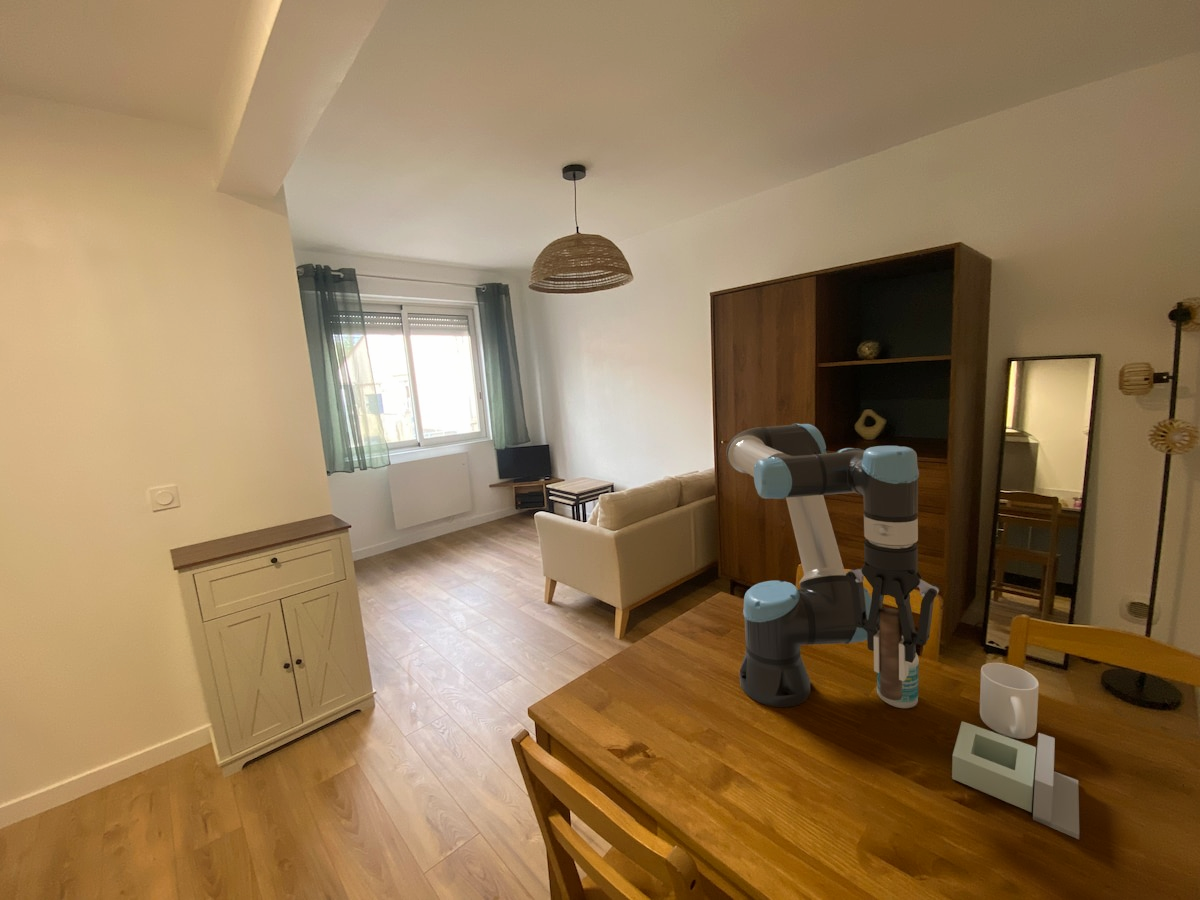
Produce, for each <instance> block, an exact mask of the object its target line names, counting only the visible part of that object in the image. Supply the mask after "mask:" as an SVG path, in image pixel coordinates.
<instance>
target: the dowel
mask: <svg viewBox="0 0 1200 900" xmlns="http://www.w3.org/2000/svg"><path fill="white" fill-rule="evenodd" d="M879 621H880V622H879V625H880V626H879V630H880V693H881V695H882V696H884V697H885V698H887V699H890V700H900V699H901V698H902V681H901V680H899V642H900V641H901V640H902V636H903V633H902V628H901V622H900V617H899V612H898V609H896V608H892V607H891V608H890V607H882V609H880V610H879Z"/></svg>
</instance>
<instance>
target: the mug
mask: <svg viewBox="0 0 1200 900" xmlns="http://www.w3.org/2000/svg"><path fill="white" fill-rule="evenodd" d="M1039 683H1040V682H1039V681H1038V679H1037V678H1036V676H1034V675H1033V674H1032V673H1030V672H1029V671H1027V670H1025V669H1023V668H1020V667H1019V666H1015V665H1011V664H1007V663H1003V662H988V663H985V664H983V665H982V666H981V667H980V689H979V691H980V692H979V694H980V695H979V714H980V715H979V716H980V719H981V720H982V722H983V723H984V725H986V726H987V727H988V728H990V729H991V730H992V731H993V732H995V733H997V734H1000V735H1003V736H1005V737H1008V738H1011V739H1015V740H1018V739H1019V740H1024V739H1030V738H1032V737H1034V736H1035V734H1036V733H1037V724H1038V705H1039V691H1040V690H1039V689H1040V688H1039V687H1040V684H1039Z"/></svg>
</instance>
